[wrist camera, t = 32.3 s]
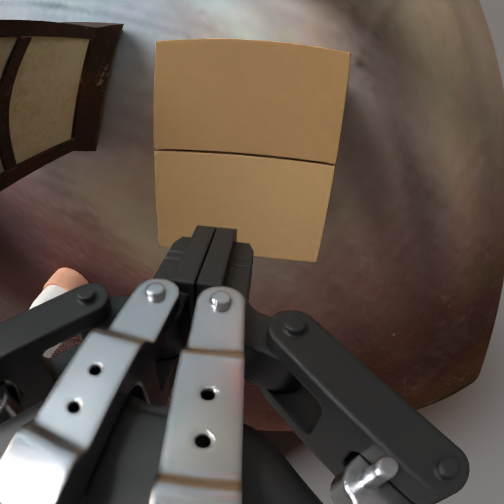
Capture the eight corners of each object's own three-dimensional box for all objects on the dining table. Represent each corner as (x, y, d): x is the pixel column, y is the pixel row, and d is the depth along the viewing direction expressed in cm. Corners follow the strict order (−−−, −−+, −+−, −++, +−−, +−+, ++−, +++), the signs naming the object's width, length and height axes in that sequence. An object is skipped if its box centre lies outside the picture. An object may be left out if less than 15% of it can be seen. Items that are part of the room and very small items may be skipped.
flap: (316, 259, 23) (316, 262, 22) (160, 243, 23) (159, 246, 23) (334, 164, 19) (335, 166, 19) (156, 149, 19) (153, 151, 19)
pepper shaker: (85, 314, 42) (28, 413, 26) (49, 286, 40) (-17, 378, 24) (100, 289, 39) (34, 399, 23) (61, 258, 37) (-19, 357, 21)
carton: (306, 207, 31) (317, 263, 22) (191, 196, 31) (158, 247, 23) (326, 61, 23) (352, 52, 15) (195, 51, 24) (155, 40, 15)
